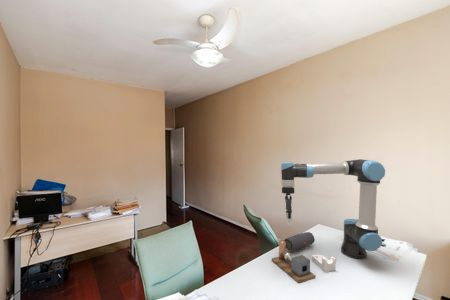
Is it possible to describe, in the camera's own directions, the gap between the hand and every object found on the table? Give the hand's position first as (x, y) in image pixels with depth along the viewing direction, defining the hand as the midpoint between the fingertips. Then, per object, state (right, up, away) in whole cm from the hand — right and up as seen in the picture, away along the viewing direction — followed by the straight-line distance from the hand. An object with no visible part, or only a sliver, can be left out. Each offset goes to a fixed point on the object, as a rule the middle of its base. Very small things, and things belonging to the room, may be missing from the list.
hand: (289, 222), depth 127 cm
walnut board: (0, -27, -2) cm, 27 cm away
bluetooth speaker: (+14, -27, +22) cm, 37 cm away
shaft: (0, -25, -1) cm, 25 cm away
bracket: (+21, -27, +1) cm, 35 cm away
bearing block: (+4, -25, -9) cm, 27 cm away
